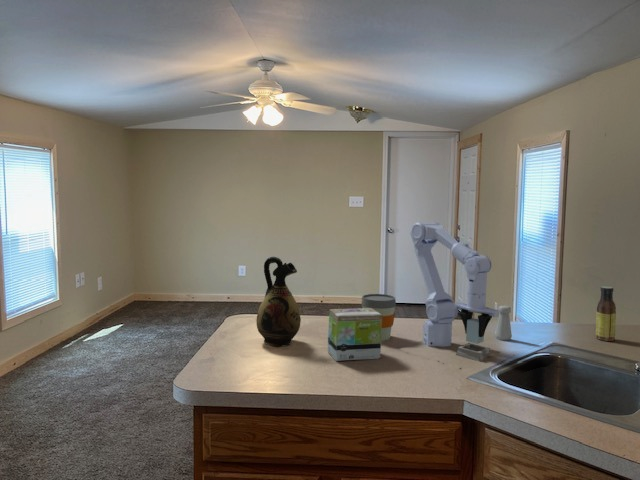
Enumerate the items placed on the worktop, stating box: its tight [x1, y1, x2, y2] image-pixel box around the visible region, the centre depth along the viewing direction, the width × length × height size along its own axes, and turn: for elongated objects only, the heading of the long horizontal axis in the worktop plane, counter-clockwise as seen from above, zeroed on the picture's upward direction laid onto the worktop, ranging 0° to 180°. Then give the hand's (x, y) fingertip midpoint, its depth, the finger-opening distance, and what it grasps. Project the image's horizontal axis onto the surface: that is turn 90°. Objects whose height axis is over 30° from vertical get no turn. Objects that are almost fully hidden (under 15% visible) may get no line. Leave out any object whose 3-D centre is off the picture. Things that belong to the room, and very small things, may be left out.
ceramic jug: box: [255, 256, 302, 348], centre depth 168 cm, size 17×15×30 cm
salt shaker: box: [494, 305, 513, 342], centre depth 175 cm, size 6×6×13 cm
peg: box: [465, 317, 485, 345], centre depth 156 cm, size 4×4×7 cm
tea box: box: [327, 307, 382, 362], centre depth 156 cm, size 15×10×15 cm, turn 105°
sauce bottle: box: [595, 285, 617, 342], centre depth 180 cm, size 7×6×20 cm
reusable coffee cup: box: [361, 293, 397, 342], centre depth 177 cm, size 13×13×15 cm
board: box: [455, 342, 501, 362], centre depth 159 cm, size 14×9×4 cm, turn 135°
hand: (474, 334), depth 156 cm, fingers closed on peg, 4 cm apart
